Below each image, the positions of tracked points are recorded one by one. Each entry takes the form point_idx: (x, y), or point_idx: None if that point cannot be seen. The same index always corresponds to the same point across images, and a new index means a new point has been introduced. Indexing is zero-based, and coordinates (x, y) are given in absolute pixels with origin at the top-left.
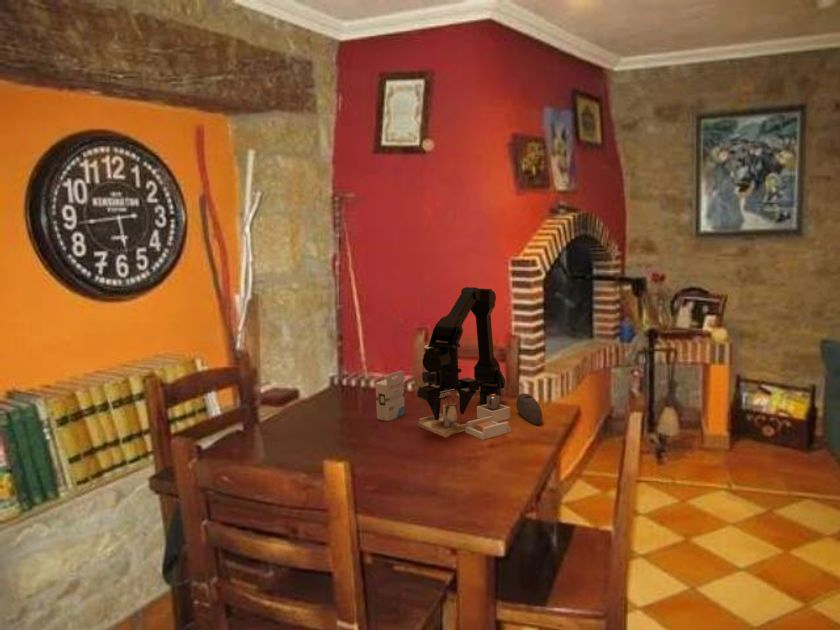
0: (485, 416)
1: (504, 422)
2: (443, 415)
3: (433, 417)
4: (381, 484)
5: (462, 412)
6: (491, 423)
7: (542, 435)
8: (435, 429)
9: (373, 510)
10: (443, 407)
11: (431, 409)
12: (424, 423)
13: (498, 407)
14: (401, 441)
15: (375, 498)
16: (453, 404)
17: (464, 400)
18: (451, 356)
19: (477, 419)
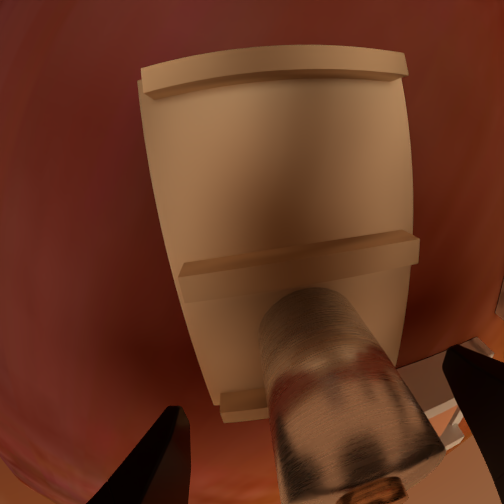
0: None
1: (453, 443)
2: (270, 412)
3: (306, 73)
4: (16, 461)
5: (448, 377)
6: (446, 417)
7: (468, 426)
8: (193, 315)
9: (26, 483)
10: (280, 491)
11: (110, 480)
12: (175, 124)
13: None
14: (4, 316)
15: (20, 473)
16: (404, 484)
17: (501, 453)
18: None
19: (439, 406)
